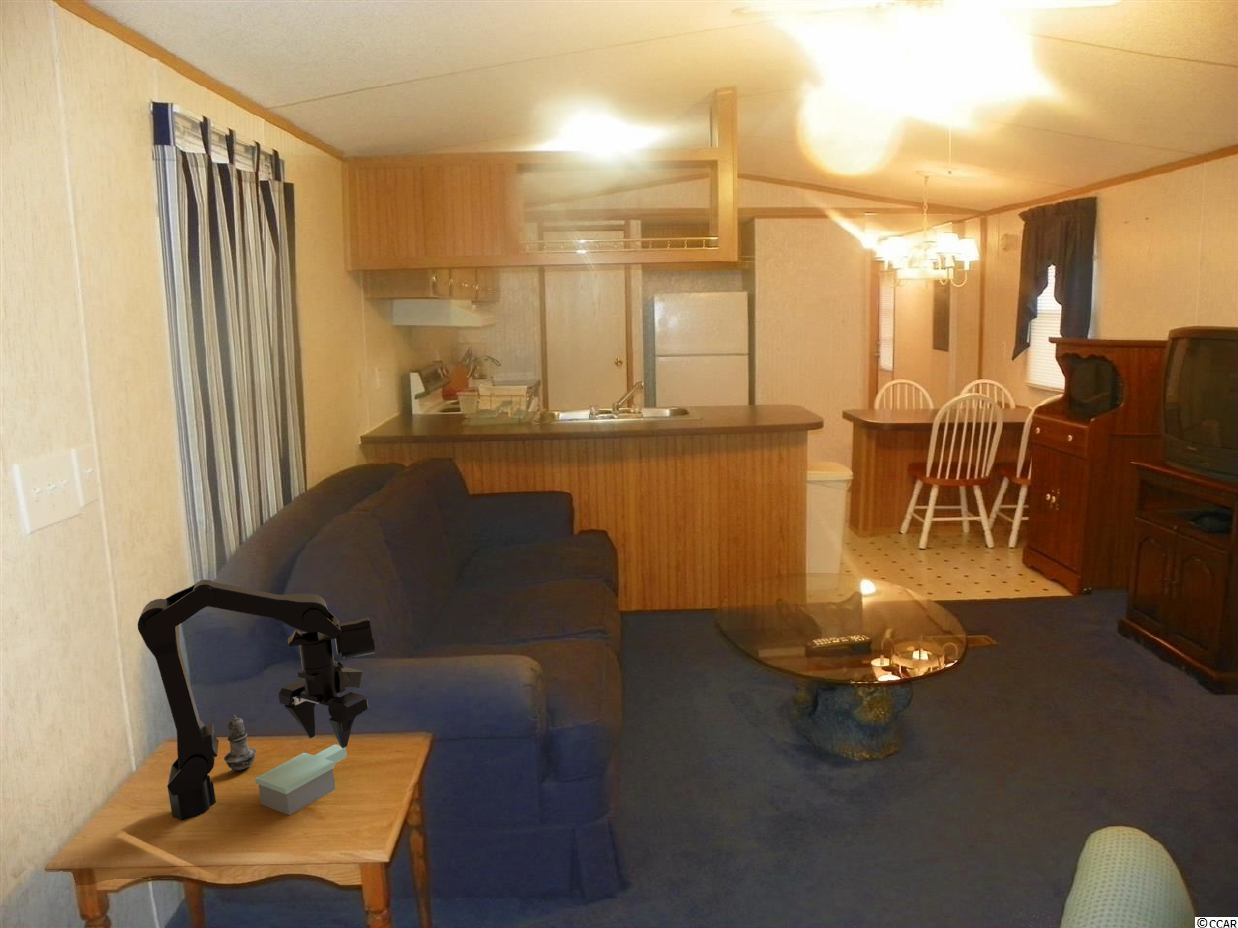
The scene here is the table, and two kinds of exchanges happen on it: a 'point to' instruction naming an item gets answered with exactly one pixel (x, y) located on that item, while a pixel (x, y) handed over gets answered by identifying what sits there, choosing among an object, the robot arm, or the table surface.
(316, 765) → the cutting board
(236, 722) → the grey upright turned figure
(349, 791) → the table surface
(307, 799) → the tub
